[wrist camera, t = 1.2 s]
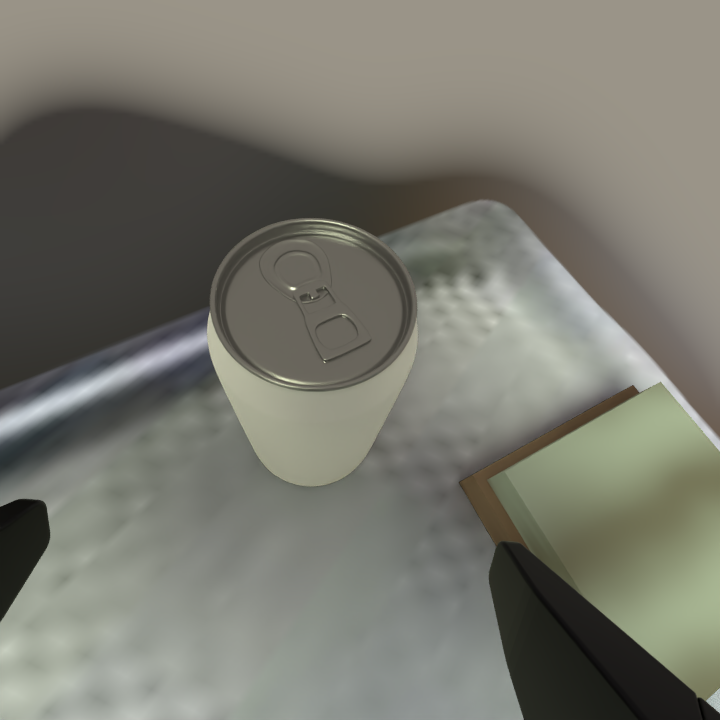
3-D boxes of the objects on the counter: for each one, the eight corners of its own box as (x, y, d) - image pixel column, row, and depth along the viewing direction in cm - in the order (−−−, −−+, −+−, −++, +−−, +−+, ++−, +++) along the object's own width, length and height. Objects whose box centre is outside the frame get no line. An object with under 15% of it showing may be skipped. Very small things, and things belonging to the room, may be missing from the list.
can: (337, 352, 24) (358, 182, 13) (396, 449, 22) (479, 340, 11) (230, 401, 22) (156, 249, 11) (284, 513, 20) (255, 456, 9)
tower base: (755, 584, 21) (847, 588, 17) (598, 720, 18) (671, 760, 14) (609, 397, 25) (660, 369, 21) (458, 482, 21) (488, 466, 18)
